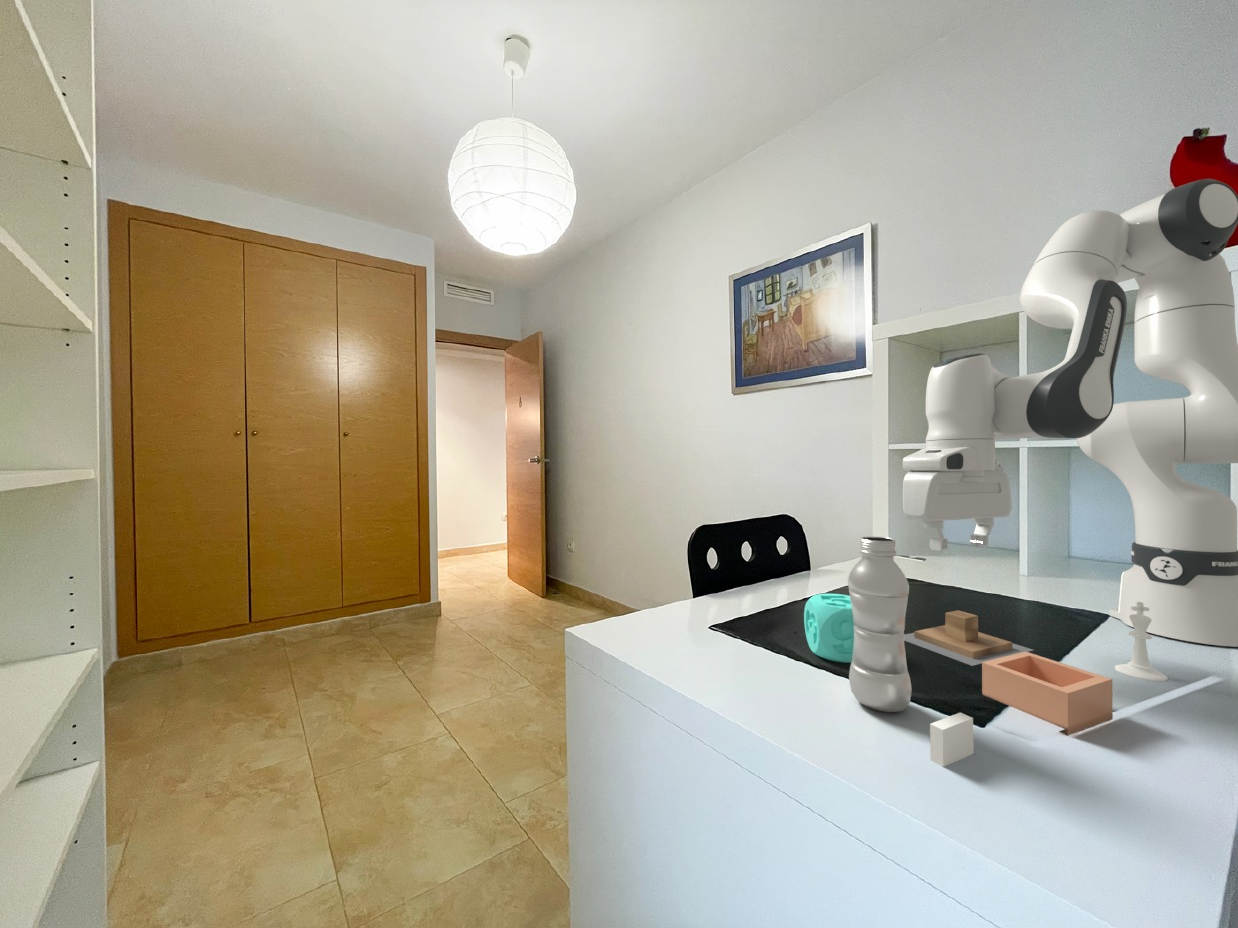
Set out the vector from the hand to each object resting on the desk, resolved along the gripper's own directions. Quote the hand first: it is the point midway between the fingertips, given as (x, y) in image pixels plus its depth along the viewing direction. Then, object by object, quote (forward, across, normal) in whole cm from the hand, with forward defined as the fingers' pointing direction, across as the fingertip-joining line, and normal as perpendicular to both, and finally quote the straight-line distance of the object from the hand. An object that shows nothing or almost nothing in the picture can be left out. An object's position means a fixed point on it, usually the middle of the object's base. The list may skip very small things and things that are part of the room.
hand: (959, 548), depth 75 cm
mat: (+15, -1, 0) cm, 16 cm away
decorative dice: (+16, +18, -6) cm, 25 cm away
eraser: (+16, +28, +18) cm, 37 cm away
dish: (+16, +9, +16) cm, 24 cm away
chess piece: (+16, -12, +16) cm, 25 cm away
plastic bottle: (+16, +26, +8) cm, 32 cm away
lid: (+15, -1, 0) cm, 15 cm away
